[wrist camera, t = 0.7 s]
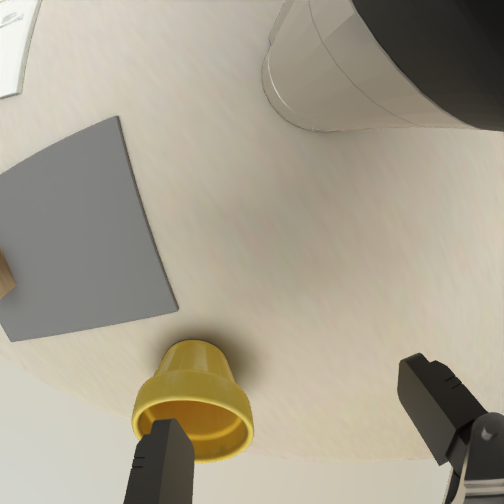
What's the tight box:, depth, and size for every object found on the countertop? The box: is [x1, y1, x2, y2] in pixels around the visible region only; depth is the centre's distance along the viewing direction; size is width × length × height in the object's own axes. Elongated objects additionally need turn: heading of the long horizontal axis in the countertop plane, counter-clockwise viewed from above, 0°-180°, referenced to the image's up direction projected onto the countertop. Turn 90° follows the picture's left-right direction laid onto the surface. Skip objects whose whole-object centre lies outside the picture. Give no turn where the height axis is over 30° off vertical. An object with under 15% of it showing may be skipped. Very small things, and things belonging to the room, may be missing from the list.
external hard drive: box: [0, 0, 42, 99], centre depth 16 cm, size 2×8×12 cm
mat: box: [0, 116, 179, 342], centre depth 24 cm, size 18×24×1 cm
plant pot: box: [132, 340, 254, 463], centre depth 25 cm, size 10×10×10 cm
